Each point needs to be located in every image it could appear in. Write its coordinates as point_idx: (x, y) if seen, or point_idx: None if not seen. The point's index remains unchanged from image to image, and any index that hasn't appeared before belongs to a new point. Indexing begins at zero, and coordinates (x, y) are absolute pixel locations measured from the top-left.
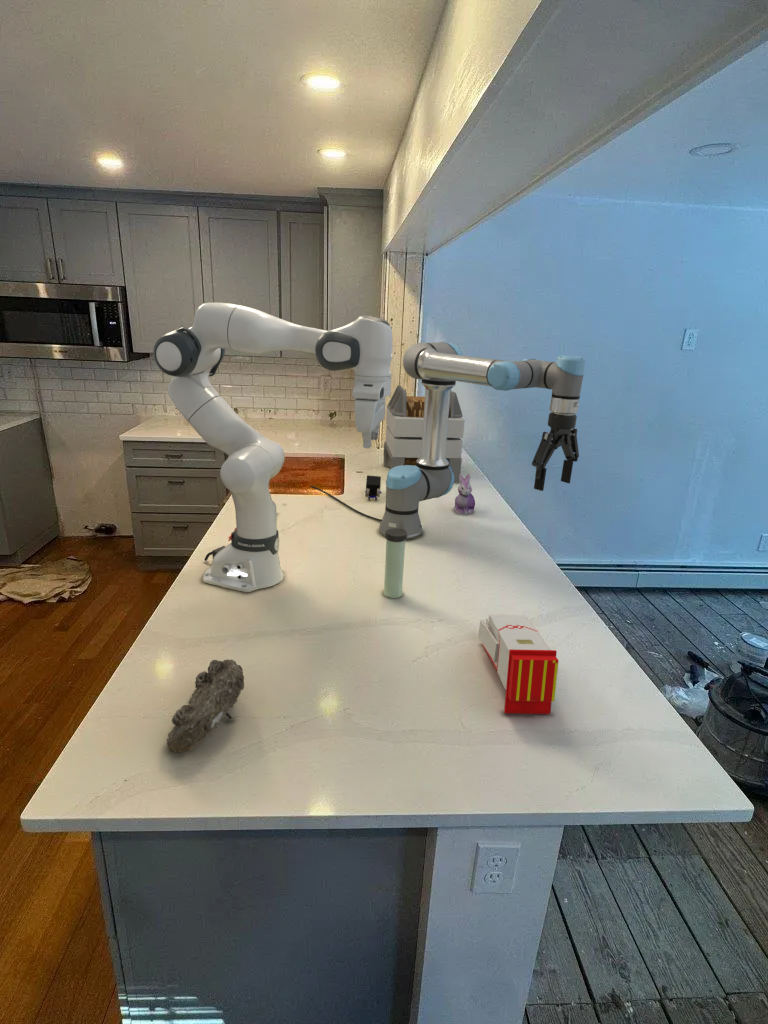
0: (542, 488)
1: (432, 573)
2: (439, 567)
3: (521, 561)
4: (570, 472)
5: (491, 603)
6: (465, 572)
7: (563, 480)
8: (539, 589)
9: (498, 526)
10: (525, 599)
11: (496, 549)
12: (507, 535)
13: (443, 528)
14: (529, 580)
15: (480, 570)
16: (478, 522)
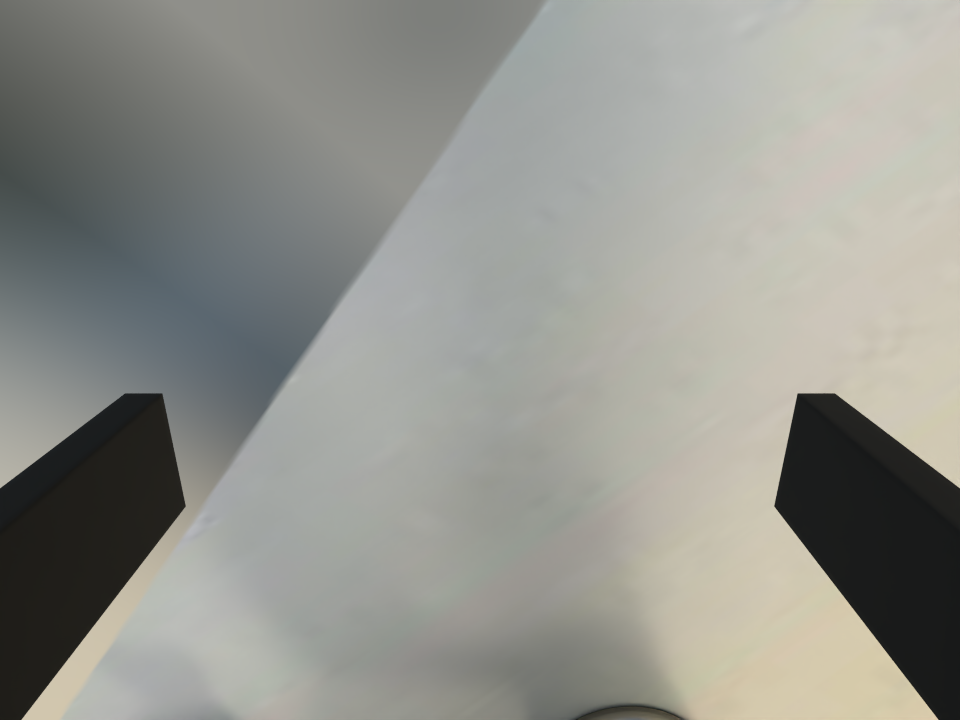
0: (849, 408)
1: None
2: None
3: (447, 353)
4: (47, 484)
5: (927, 170)
6: (740, 421)
7: (167, 481)
8: (639, 117)
9: (227, 626)
10: (783, 95)
11: (437, 489)
12: (269, 551)
13: (453, 716)
14: (592, 207)
15: (675, 398)
16: (274, 689)
